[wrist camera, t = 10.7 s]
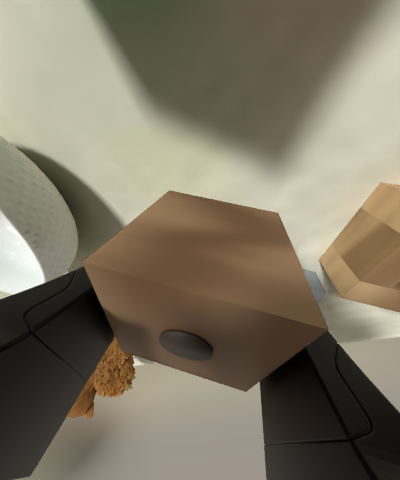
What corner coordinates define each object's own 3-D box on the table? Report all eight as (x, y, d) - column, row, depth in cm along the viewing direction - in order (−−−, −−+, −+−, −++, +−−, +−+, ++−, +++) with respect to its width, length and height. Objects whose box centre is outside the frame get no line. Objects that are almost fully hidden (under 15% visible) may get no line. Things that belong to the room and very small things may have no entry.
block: (277, 213, 7) (331, 335, 3) (244, 285, 10) (245, 395, 6) (169, 190, 7) (78, 265, 3) (168, 265, 10) (119, 354, 6)
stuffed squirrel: (87, 323, 37) (25, 400, 26) (128, 320, 31) (69, 418, 21) (116, 344, 41) (72, 418, 31) (156, 345, 35) (120, 437, 25)
